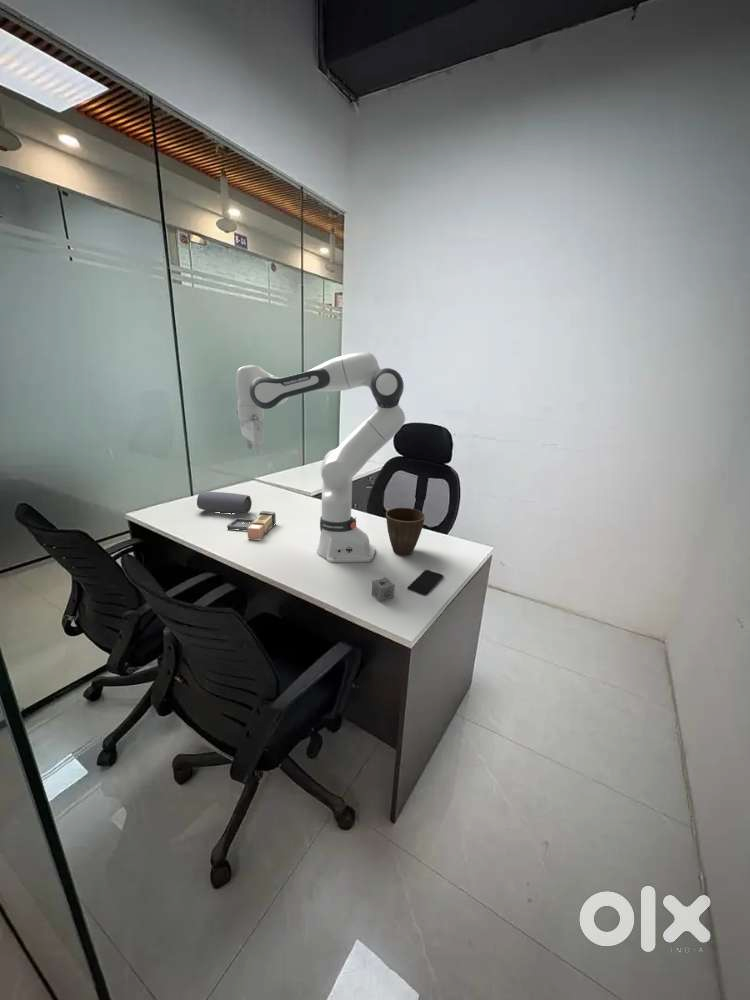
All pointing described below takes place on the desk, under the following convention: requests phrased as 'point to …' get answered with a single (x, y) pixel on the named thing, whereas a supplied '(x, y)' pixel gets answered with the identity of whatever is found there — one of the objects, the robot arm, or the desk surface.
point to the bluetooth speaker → (224, 502)
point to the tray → (240, 524)
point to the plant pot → (404, 529)
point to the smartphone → (425, 582)
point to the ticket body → (265, 520)
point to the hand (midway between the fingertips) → (252, 451)
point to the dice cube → (383, 589)
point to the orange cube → (255, 531)
